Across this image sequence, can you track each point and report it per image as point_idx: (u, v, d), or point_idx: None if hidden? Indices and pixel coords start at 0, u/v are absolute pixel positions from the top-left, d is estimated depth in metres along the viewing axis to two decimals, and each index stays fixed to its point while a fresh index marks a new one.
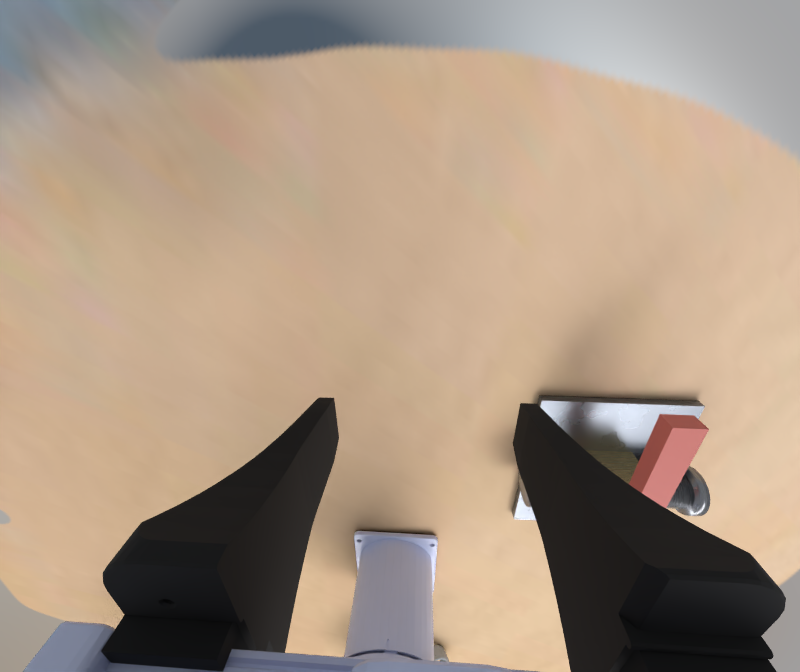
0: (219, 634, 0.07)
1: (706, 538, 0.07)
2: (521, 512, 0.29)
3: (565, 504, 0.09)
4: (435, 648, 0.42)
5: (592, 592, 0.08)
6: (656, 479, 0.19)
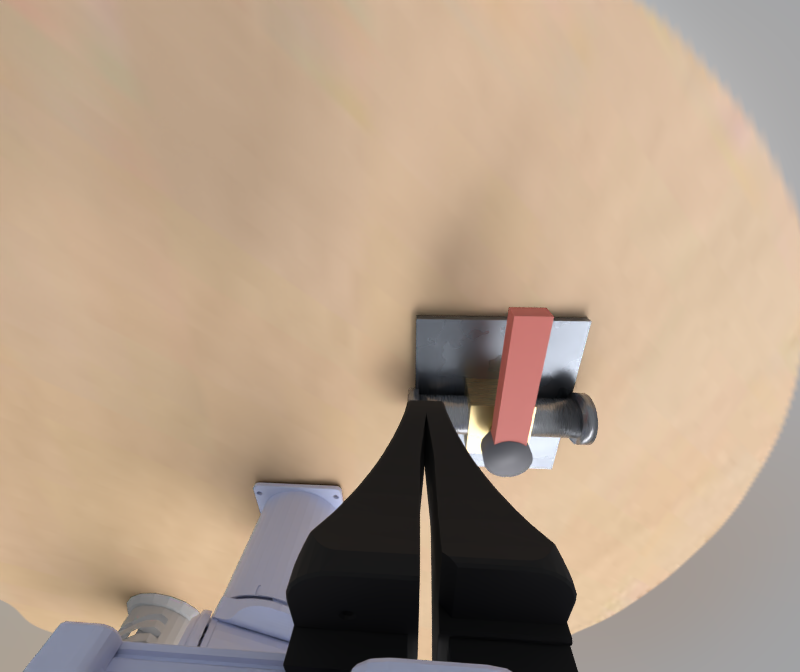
0: (398, 647, 0.06)
1: (523, 529, 0.07)
2: None
3: (434, 498, 0.09)
4: None
5: (435, 583, 0.08)
6: (512, 385, 0.17)
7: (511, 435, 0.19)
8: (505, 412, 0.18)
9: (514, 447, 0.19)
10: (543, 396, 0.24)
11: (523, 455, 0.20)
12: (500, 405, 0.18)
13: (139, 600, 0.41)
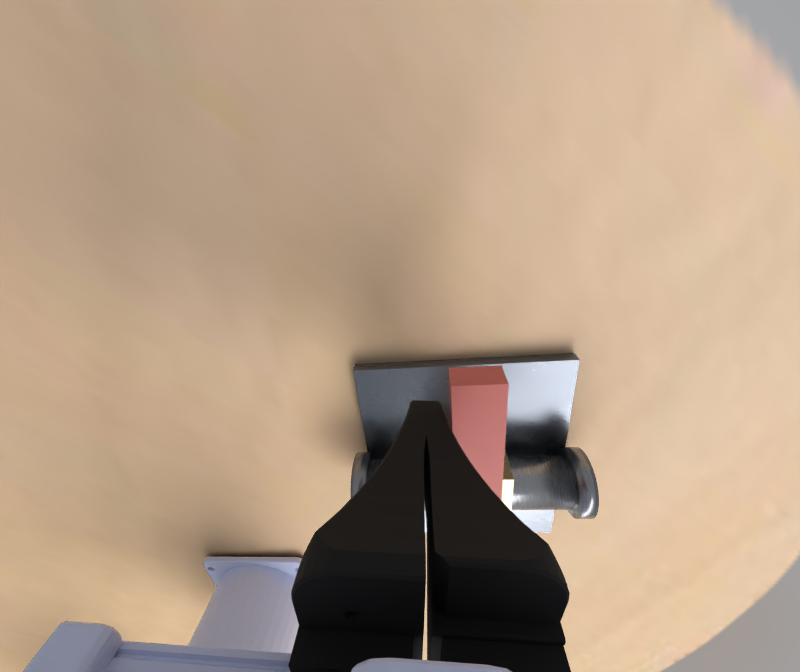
0: (403, 647, 0.06)
1: (517, 529, 0.07)
2: None
3: (429, 498, 0.09)
4: None
5: (430, 582, 0.08)
6: None
7: None
8: None
9: None
10: (528, 451, 0.19)
11: None
12: None
13: None
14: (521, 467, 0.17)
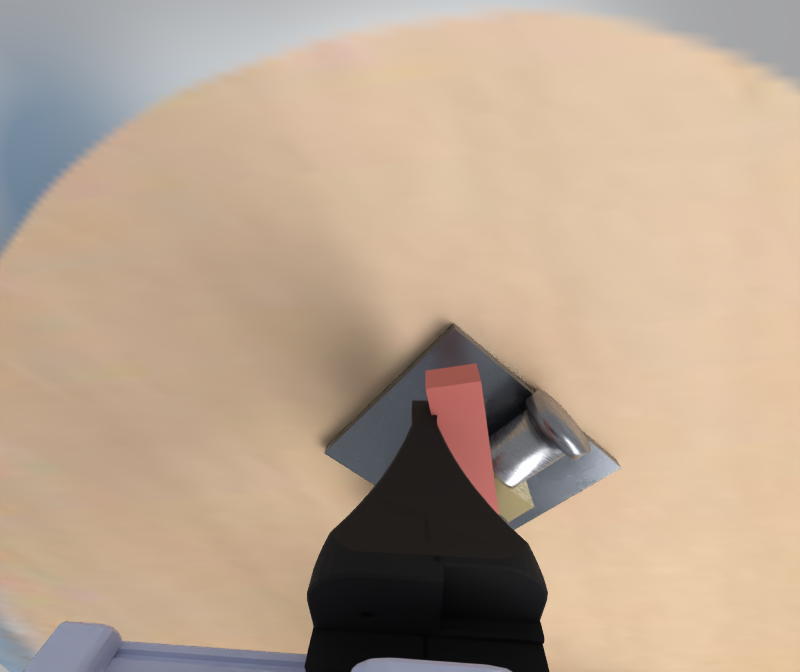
0: (419, 648, 0.06)
1: (497, 528, 0.07)
2: None
3: None
4: None
5: None
6: None
7: None
8: None
9: None
10: (509, 419, 0.18)
11: None
12: None
13: None
14: (494, 444, 0.17)
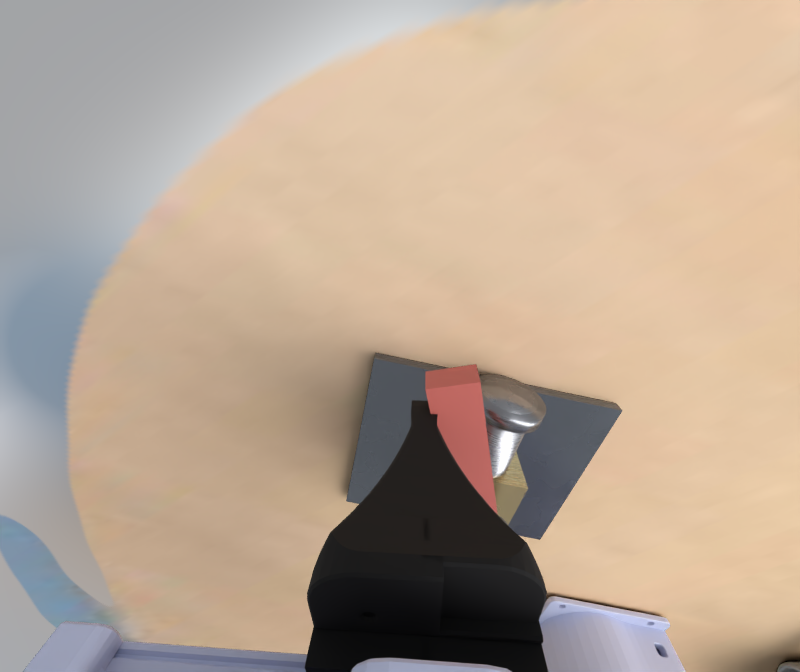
0: (419, 648, 0.06)
1: (497, 528, 0.07)
2: (529, 532, 0.22)
3: None
4: None
5: None
6: None
7: None
8: None
9: None
10: None
11: None
12: None
13: None
14: None
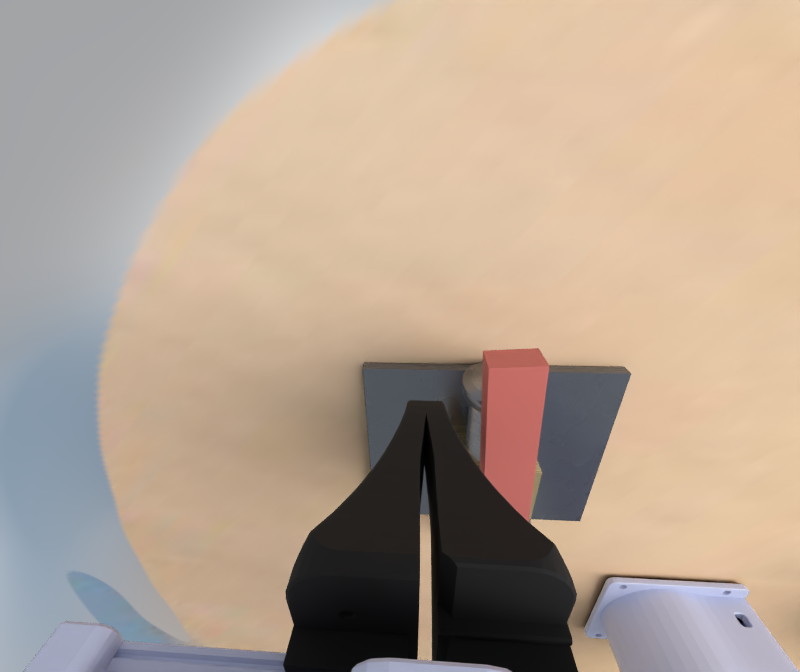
0: (398, 646, 0.06)
1: (523, 529, 0.07)
2: (566, 515, 0.21)
3: (434, 498, 0.09)
4: None
5: (435, 583, 0.08)
6: (497, 459, 0.12)
7: None
8: None
9: None
10: None
11: None
12: None
13: None
14: (467, 436, 0.17)
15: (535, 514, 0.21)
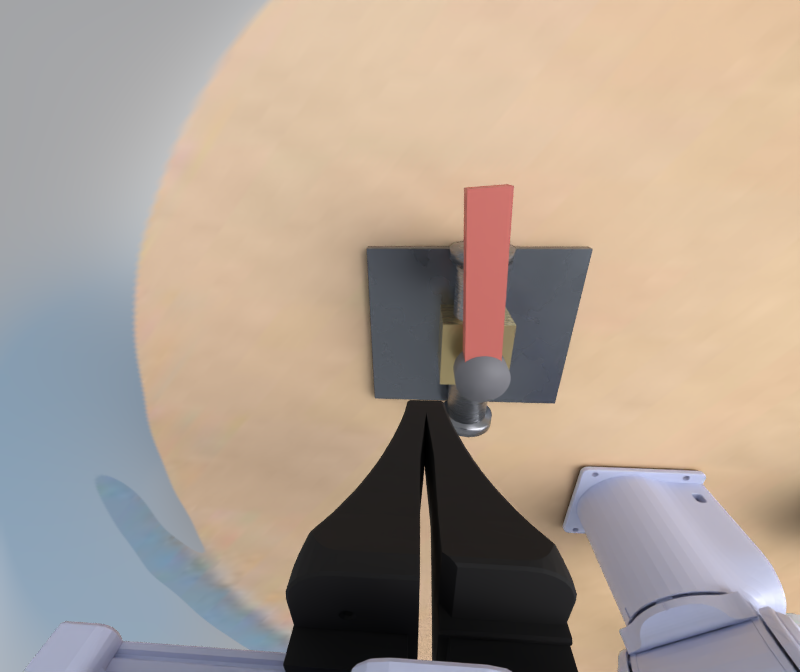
0: (398, 647, 0.06)
1: (523, 529, 0.07)
2: (542, 397, 0.24)
3: (434, 498, 0.09)
4: None
5: (435, 583, 0.08)
6: (476, 282, 0.15)
7: (482, 348, 0.17)
8: (472, 318, 0.16)
9: (488, 363, 0.17)
10: None
11: (499, 372, 0.17)
12: (465, 310, 0.16)
13: None
14: (454, 303, 0.20)
15: (516, 397, 0.24)
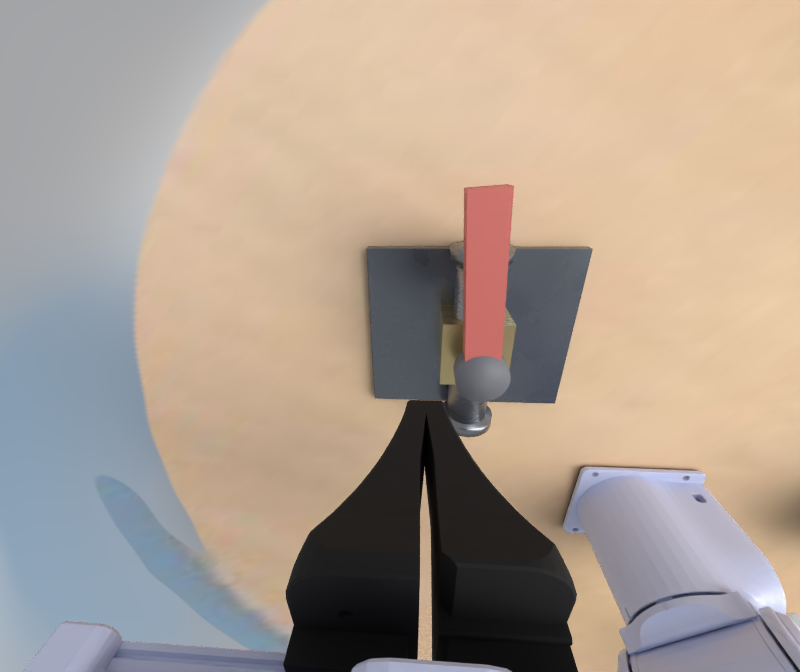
0: (398, 647, 0.06)
1: (523, 529, 0.07)
2: (542, 397, 0.24)
3: (434, 498, 0.09)
4: None
5: (435, 583, 0.08)
6: (476, 282, 0.15)
7: (482, 348, 0.17)
8: (472, 318, 0.16)
9: (488, 363, 0.17)
10: None
11: (499, 372, 0.17)
12: (465, 310, 0.16)
13: None
14: (454, 303, 0.20)
15: (516, 397, 0.24)
